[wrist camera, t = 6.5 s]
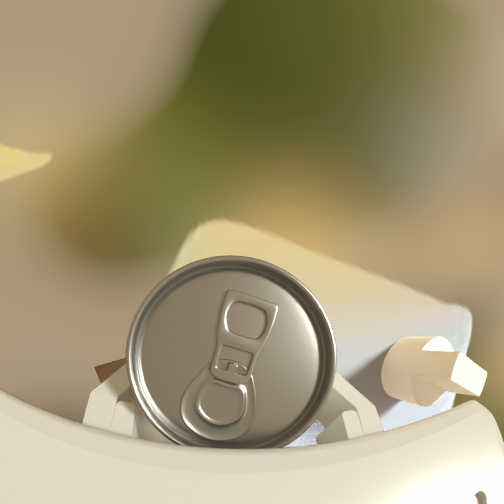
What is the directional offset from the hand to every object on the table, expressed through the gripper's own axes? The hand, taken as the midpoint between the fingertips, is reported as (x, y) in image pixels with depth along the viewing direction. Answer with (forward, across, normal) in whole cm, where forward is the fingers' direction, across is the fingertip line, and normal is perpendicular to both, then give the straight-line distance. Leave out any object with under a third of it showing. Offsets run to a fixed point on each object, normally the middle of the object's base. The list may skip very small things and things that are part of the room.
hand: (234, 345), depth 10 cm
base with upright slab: (+10, -27, +16) cm, 33 cm away
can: (+5, 0, +7) cm, 9 cm away
